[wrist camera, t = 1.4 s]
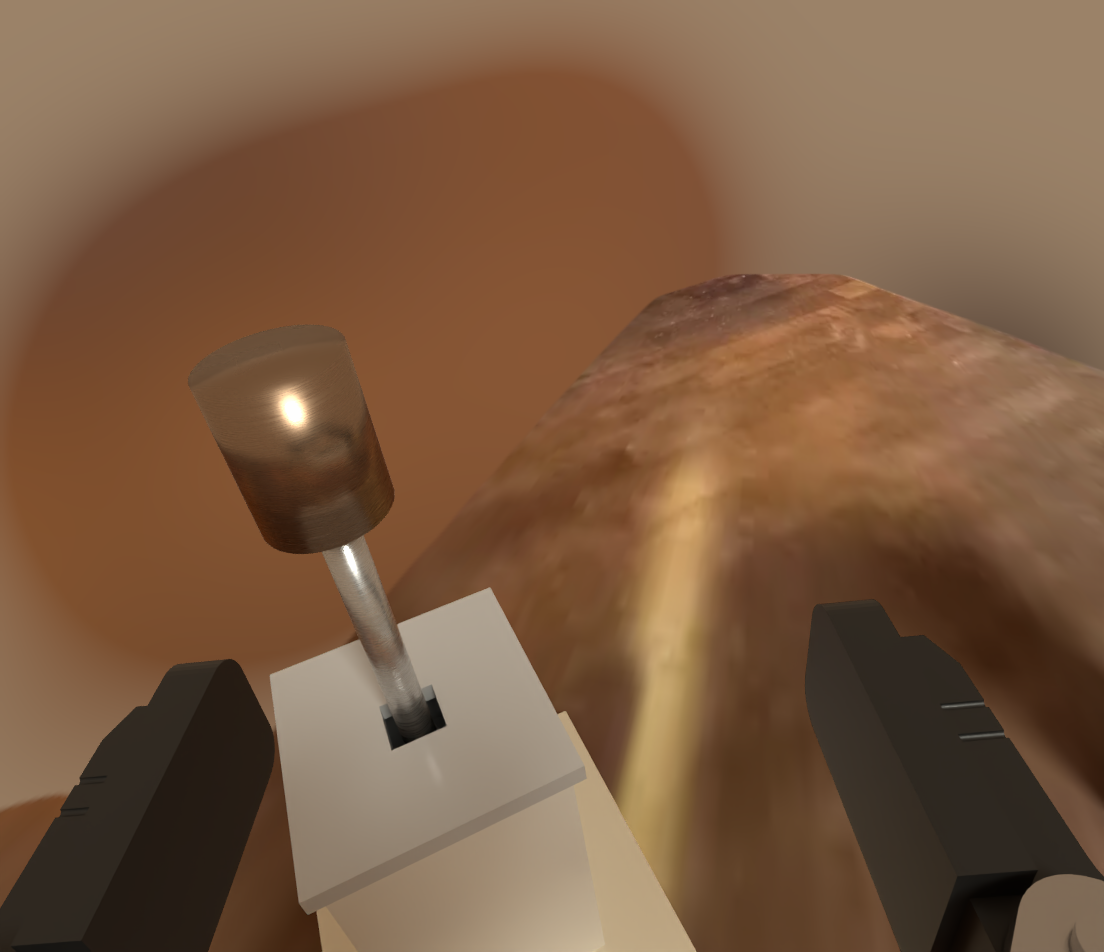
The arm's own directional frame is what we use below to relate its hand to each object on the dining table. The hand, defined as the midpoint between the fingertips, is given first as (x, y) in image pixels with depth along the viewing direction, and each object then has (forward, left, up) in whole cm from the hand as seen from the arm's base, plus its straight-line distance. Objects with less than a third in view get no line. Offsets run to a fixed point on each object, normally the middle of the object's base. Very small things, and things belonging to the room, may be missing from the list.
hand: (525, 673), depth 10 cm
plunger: (+3, -16, -25) cm, 29 cm away
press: (+3, -16, -40) cm, 43 cm away
